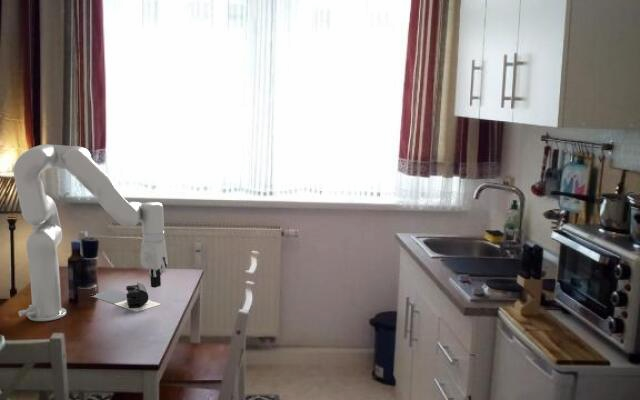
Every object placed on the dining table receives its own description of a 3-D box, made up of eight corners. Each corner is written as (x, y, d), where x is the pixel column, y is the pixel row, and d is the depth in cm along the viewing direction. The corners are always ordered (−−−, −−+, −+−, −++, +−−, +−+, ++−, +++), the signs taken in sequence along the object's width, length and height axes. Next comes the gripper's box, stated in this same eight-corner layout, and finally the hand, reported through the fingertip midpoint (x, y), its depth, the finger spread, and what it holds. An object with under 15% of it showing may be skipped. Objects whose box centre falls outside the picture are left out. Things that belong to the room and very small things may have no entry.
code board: (136, 311, 240) (136, 311, 240) (113, 304, 249) (113, 303, 249) (161, 304, 249) (161, 304, 249) (138, 297, 258) (138, 296, 258)
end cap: (148, 306, 246) (148, 289, 244) (129, 309, 243) (128, 291, 242) (145, 299, 255) (145, 281, 254) (126, 300, 252) (126, 283, 251)
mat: (113, 304, 249) (113, 303, 249) (89, 295, 259) (89, 295, 259) (138, 297, 258) (138, 296, 258) (113, 289, 267) (113, 289, 267)
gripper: (132, 236, 239) (134, 285, 242) (158, 241, 230) (160, 292, 233) (149, 232, 245) (151, 280, 248) (175, 238, 236) (177, 287, 239)
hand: (155, 286), depth 241 cm, fingers closed
